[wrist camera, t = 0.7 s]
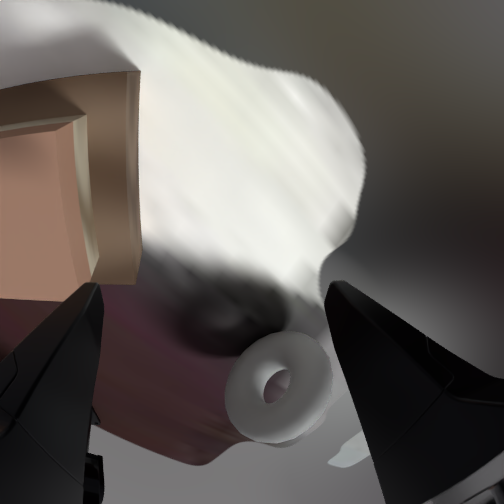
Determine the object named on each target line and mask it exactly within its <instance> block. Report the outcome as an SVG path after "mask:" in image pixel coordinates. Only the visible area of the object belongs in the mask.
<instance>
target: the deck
mask: <svg viewBox="0 0 504 504" xmlns="http://www.w3.org/2000/svg"><path fill="white" fill-rule="evenodd" d="M140 73H141V71H127V72H111V73H99V74H89V75H80V76H72V77H65V78H58V79H51V80H45V81H40V82H34V83H29V84H24V85H19V86H14V87H10V88H5V89H1V90H0V126H4V125H10V124H15V123H21V122H28V121H35V120H42V119H49V118H57V117H66V116H76V115H87V142H88V162H89V176H90V188H91V198H92V208H93V216H94V224H95V232H96V239H97V245H98V252H99V258H98V261H97V264H96V266H95V269H94V272H93V274H92V277H91V280H90V282H97V283H98V284H122V285H136V279H137V274H138V269H139V264H140V259H141V254H142V237H141V221H140V202H139V169H138V123H139V92H140Z"/></svg>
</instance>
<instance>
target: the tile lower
mask: <svg viewBox="0 0 504 504" xmlns="http://www.w3.org/2000/svg"><path fill="white" fill-rule="evenodd" d="M63 122H73V135H74V154H75V167H76V179H77V189H78V198H79V206H80V214H81V221H82V228H83V234H84V240H85V246H86V252H87V257H88V263H89V268H90V273H91V277H92V274H93V272H94V269H95V266H96V264H97V261H98V258H99V252H98V245H97V239H96V232H95V224H94V216H93V208H92V198H91V188H90V176H89V162H88V142H87V115H76V116H66V117H57V118H49V119H42V120H35V121H28V122H21V123H15V124H10V125H4V126H0V131H6V130H12V129H18V128H24V127H31V126H38V125H46V124H54V123H63Z"/></svg>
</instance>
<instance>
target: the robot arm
mask: <svg viewBox="0 0 504 504" xmlns="http://www.w3.org/2000/svg"><path fill="white" fill-rule="evenodd" d="M324 308H325V312H326V316H327V320H328V324H329V328H330V332H331V337H332V341H333V345H334V348H335V351H336V354H337V357H338V360H339V363H340V365H341V368H342V371H343V374H344V377H345V379H346V382H347V385H348V388H349V391H350V394H351V396H352V399H353V402H354V405H355V408H356V411H357V414H358V417H359V420H360V423H361V426H362V429H363V432H364V435H365V438H366V441H367V444H368V447H369V450H370V454H371V456H372V459H373V462H374V467H375V470H376V473H377V476H378V479H379V483H380V486H381V489H382V493H383V496H384V499H385V503H386V504H426V503H428V502H430V501H431V503H432V504H504V379H502V378H497V377H493V376H491V375H489V374H487V373H485V372H483V371H482V370H480V369H478V368H476V367H475V366H473V365H472V364H470V363H468V362H467V361H465V360H463V359H461V358H460V357H458V356H457V355H455V354H453V353H452V352H450V351H448V350H447V349H445V348H444V347H442V346H441V345H439V344H438V343H436V342H435V341H433V340H432V339H431V338H429V337H426V335H424V334H423V333H422V332H420V331H419V330H417V329H416V328H414V327H413V326H412V325H410V324H408V323H407V322H406V321H404V320H403V319H401V318H400V317H398V316H397V315H395V314H394V313H392V312H391V311H389V310H388V309H386V308H385V307H383V306H382V305H380V304H379V303H377V302H376V301H374V300H373V299H371V298H370V297H368V296H367V295H365V294H364V293H362V292H361V291H359V290H358V289H356V288H355V287H353V286H352V285H350V284H349V283H347V282H345V281H344V280H336V281H335V280H334V281H332V282H331V283H330V285H329V288H328V291H327V295H326V298H325V301H324ZM103 317H104V303H103V298H102V294H101V289H100V285H99V284H98V283H97V282H85V283H84V284H83V285H81V286H80V287H79V288H78V289H77V290H76V291H75V292H73V293H72V294H71V295H70V296H69V297H68V298H67V299H66V300H65V301H63V302H62V303H61V304H60V305H59V306H58V307H57V308H56V309H55V310H54V311H53V312H51V313H50V314H49V315H48V316H47V317H46V318H45V319H44V320H43V321H42V322H41V323H40V324H39V325H38V326H37V327H35V328H34V329H33V330H32V331H31V332H30V333H29V334H28V335H27V336H26V337H25V338H24V339H23V340H22V341H21V342H20V343H19V344H18V345H17V346H16V347H15V348H14V349H13V351H11V352H10V353H9V354H8V355H7V356H6V357H5V358H4V359H3V360H2V361H1V362H0V504H101V503H102V501H103V497H104V472H103V457H102V456H100V455H94V454H91V453H88V450H89V439H90V429H91V425H100V419H99V418H98V416H97V414H96V412H95V410H94V408H93V406H92V399H93V393H94V387H95V381H96V375H97V369H98V364H99V358H100V349H101V337H102V327H103Z"/></svg>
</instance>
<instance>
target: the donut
mask: <svg viewBox="0 0 504 504" xmlns="http://www.w3.org/2000/svg"><path fill="white" fill-rule="evenodd" d="M282 369H287V370H288V371H289V372H290V376H291V378H290V384H289V386H288V389H287V391H286V392H285V394H284V395H283V396H282V397H281V398H280V399H279V400H277V401H276V402H274V403H271V404H267V403H265V401H264V399H263V391H264V387H265V384H266V382H267V381H268V379H269V378H270V377H271V376H272V375H273V374H274V373H276V372H277V371H279V370H282ZM332 384H333V371H332V366H331V362H330V358H329V357H328V355H327V354H326V352H325V351H324V349H323V348H322V346H321V345H320V344H319V342H317V341H315V340H314V339H312V338H311V337H309V336H307V335H306V334H304V333H299V332H293V331H282V332H277V333H271V334H269V335H267V336H265V337H263V338H261V339H259V340H257V341H256V342H254V343H253V344H252V345H251V346H250V347H248V348H247V349H246V350H245V351H244V352H243V353H242V354H241V356H240V357H239V358H238V359H237V361H236V362H235V364H234V366H233V368H232V370H231V372H230V374H229V376H228V380H227V384H226V388H225V407H226V410H227V413H228V416H229V419H230V421H231V422H232V424H233V425H234V426H235V427H236V428H237V430H238V431H239V432H240V433H241V434H243V435H245V436H247V437H249V438H251V439H253V440H255V441H257V442H266V443H280V442H283V441H287V440H290V439H294V438H296V437H297V436H299V435H300V434H302V433H303V432H305V431H306V430H308V429H309V428H310V427H312V426H313V424H314V423H315V422H316V421H317V420H318V418H319V417H320V416H321V415H322V414H323V412H324V410H325V408H326V406H327V404H328V401H329V399H330V396H331V393H332Z"/></svg>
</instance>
